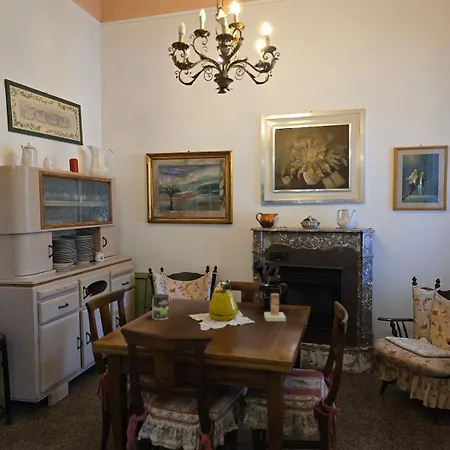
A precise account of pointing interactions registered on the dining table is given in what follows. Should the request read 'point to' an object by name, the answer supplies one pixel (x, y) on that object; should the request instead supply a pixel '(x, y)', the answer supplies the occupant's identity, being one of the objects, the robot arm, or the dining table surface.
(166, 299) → the coffee can
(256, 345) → the dining table surface
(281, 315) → the tile base
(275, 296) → the oak block
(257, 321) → the dining table surface
